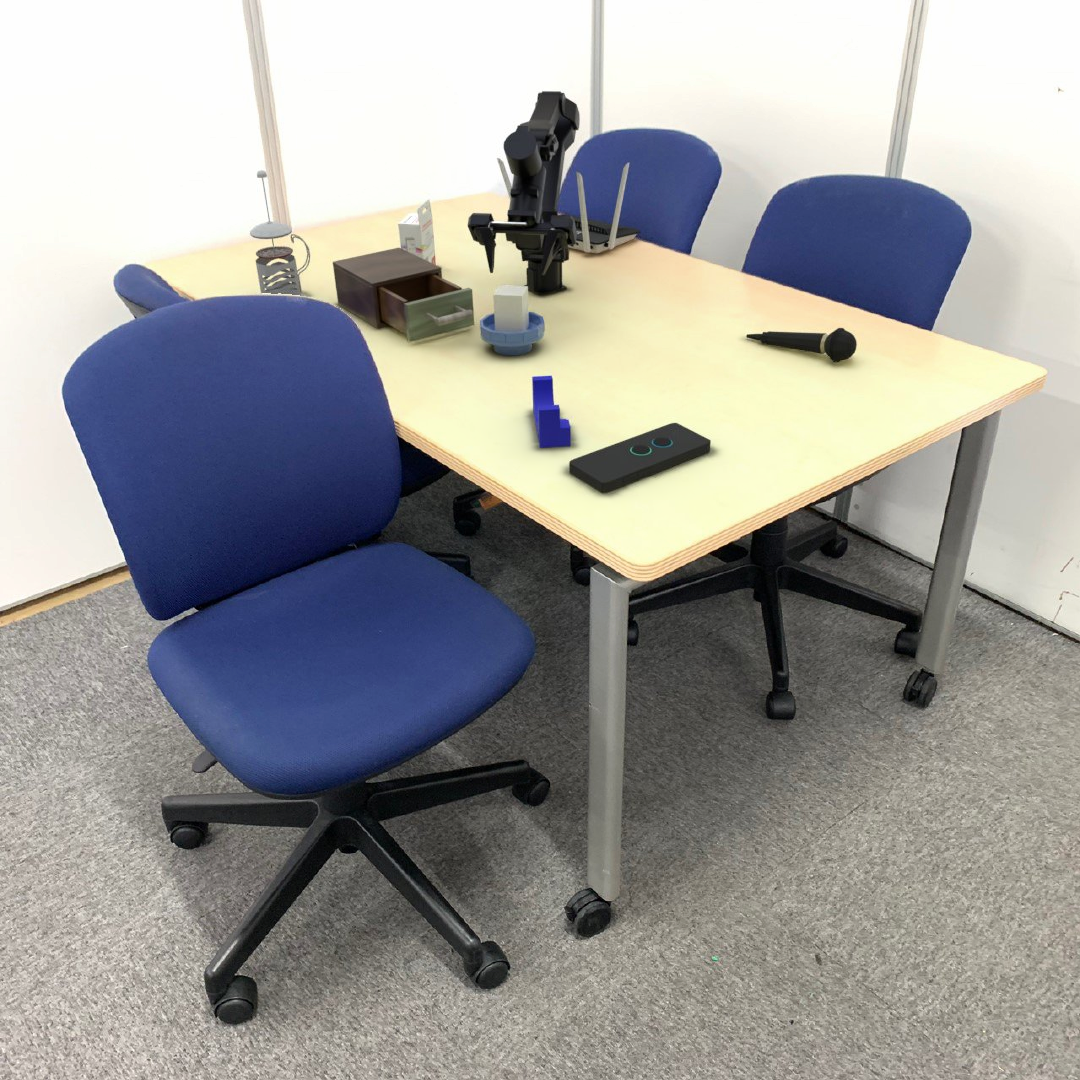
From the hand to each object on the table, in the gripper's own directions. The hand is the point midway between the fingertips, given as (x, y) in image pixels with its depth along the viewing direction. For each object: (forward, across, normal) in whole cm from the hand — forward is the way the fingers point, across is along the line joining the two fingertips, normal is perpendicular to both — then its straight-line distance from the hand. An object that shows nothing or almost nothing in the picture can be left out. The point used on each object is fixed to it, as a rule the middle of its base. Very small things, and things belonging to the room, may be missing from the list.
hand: (516, 273), depth 179 cm
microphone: (+8, -50, -9) cm, 51 cm away
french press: (-2, +51, -19) cm, 54 cm away
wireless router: (-33, 0, -50) cm, 60 cm away
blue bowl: (+12, 0, -5) cm, 13 cm away
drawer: (+7, +17, -9) cm, 21 cm away
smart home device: (+40, -27, +22) cm, 53 cm away
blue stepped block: (+34, -12, +17) cm, 40 cm away
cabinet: (0, +28, -17) cm, 33 cm away
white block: (+10, 0, -2) cm, 10 cm away
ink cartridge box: (-15, +28, -32) cm, 45 cm away
